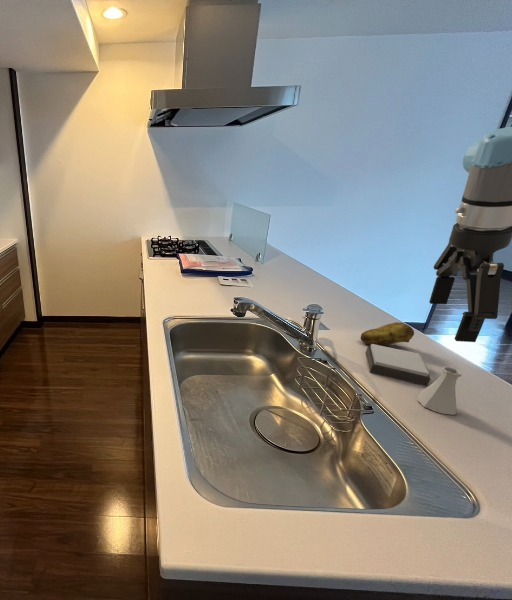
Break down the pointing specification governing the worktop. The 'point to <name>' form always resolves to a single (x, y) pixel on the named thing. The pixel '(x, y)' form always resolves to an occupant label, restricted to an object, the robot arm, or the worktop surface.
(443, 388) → the flask
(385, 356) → the scale
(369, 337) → the potato
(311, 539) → the worktop surface
